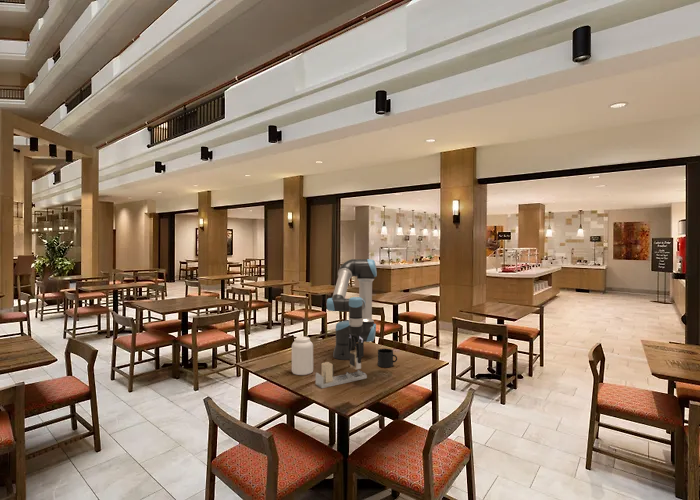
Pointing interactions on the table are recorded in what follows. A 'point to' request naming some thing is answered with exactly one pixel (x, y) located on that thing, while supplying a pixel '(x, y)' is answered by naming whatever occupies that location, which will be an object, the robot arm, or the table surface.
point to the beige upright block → (353, 359)
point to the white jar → (302, 356)
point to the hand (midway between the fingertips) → (355, 367)
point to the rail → (329, 380)
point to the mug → (386, 358)
